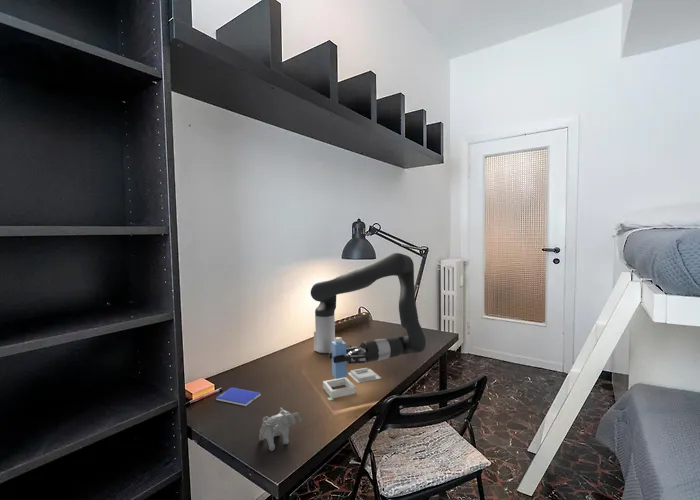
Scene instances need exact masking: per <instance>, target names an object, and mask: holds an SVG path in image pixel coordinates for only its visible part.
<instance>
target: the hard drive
mask: <svg viewBox="0 0 700 500" xmlns="http://www.w3.org/2000/svg"><path fill="white" fill-rule="evenodd" d="M261 395H262V394H261V392H259V391H253V390H252V391H251V390H246V389H242V388H237V387H230V388H228V389H227V390H225V391H224V392H222V393H220V394H218V395H217V396H216V397H215V399H216V401H220V402H225V403H229V404H230V403H231V404H234V405H239V406H244V407H247V406H248V405H249V404H251V403H252V402H253V401H255V400H256V399H258V398H259V397H260V396H261Z"/></svg>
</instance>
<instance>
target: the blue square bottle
mask: <svg viewBox="0 0 700 500" xmlns="http://www.w3.org/2000/svg"><path fill="white" fill-rule="evenodd" d="M346 346H347V343H346V342H345V341H344V340H343V337H341V336H340V337H339V336H335V341H332V342H331V351H332V359H331V375H332V376H333V377H334V379H339V378H344V377H347V376H348V371H347V366H348V365H347V362H339V363H334V362H333V357H334V356H339V355H345V354H346ZM347 378H348V377H347Z"/></svg>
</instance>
